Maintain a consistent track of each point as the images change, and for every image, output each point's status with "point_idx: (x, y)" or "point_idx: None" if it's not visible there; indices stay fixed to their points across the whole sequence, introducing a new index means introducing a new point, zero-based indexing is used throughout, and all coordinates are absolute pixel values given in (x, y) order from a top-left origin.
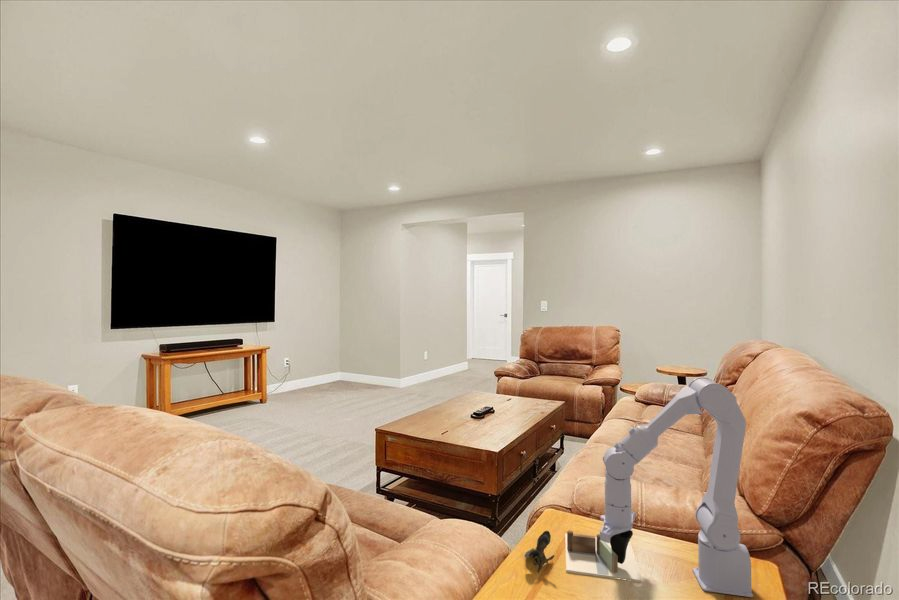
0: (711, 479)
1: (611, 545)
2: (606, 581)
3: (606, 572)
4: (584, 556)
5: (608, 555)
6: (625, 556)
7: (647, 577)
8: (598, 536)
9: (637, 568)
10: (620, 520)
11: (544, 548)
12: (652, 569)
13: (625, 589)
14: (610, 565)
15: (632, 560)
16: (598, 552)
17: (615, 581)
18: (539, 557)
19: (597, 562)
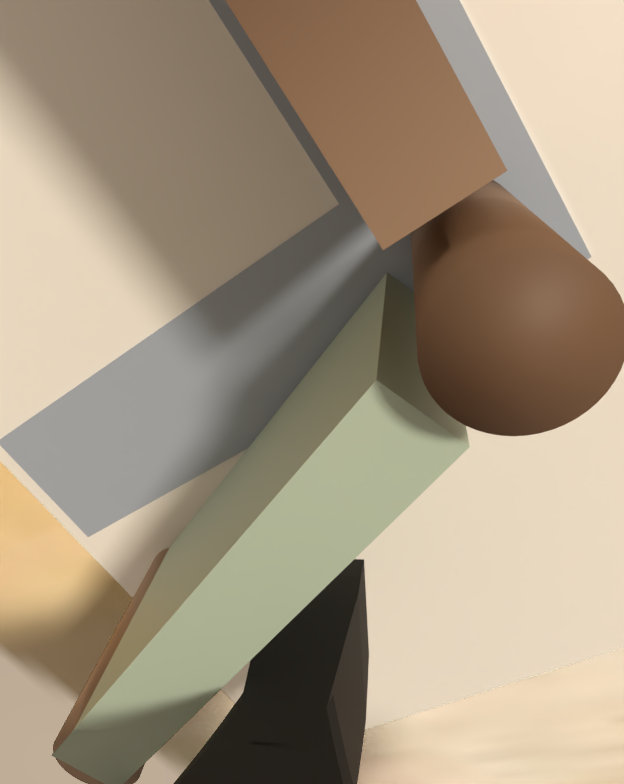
0: None
1: (206, 752)
2: (24, 527)
3: (101, 505)
4: (173, 80)
5: (164, 594)
6: (358, 748)
7: (413, 746)
8: (438, 346)
9: (461, 693)
10: None
11: None
12: (599, 752)
13: (81, 670)
14: (173, 550)
15: (606, 620)
16: (411, 242)
17: (103, 583)
18: None
19: (193, 334)
